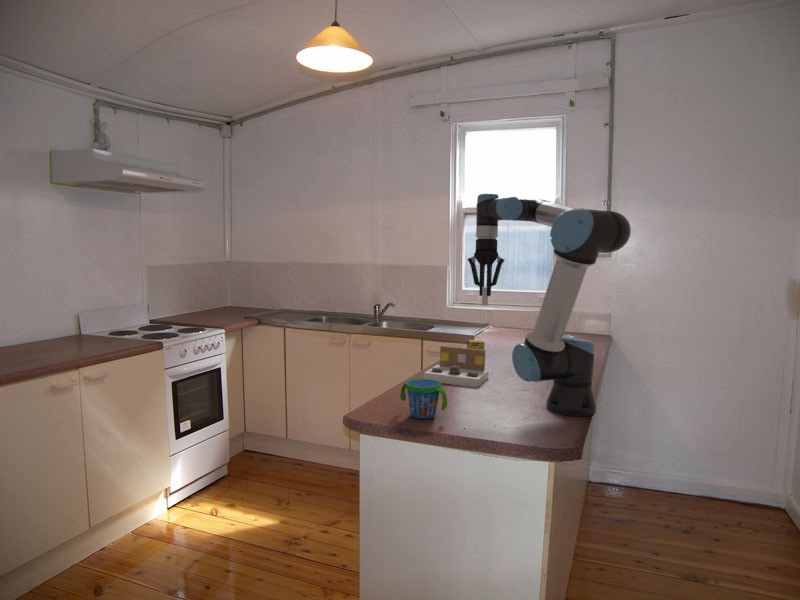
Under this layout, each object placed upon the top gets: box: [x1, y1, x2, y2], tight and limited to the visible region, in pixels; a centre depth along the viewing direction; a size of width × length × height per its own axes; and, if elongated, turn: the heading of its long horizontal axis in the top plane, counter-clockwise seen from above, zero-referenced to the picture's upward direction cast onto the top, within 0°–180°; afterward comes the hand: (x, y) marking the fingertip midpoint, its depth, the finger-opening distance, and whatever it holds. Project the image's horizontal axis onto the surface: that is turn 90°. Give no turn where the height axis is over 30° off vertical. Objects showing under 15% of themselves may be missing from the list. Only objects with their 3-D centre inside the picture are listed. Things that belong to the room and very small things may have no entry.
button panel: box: [423, 345, 490, 388], centre depth 211 cm, size 16×21×11 cm
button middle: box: [450, 366, 460, 375], centre depth 209 cm, size 4×4×4 cm
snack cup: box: [399, 378, 448, 420], centre depth 165 cm, size 16×10×10 cm
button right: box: [468, 372, 478, 377], centre depth 206 cm, size 4×4×4 cm
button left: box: [431, 367, 442, 373], centre depth 211 cm, size 4×4×4 cm
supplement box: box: [465, 339, 485, 350], centre depth 236 cm, size 6×6×11 cm
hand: (484, 305), depth 196 cm, fingers closed
